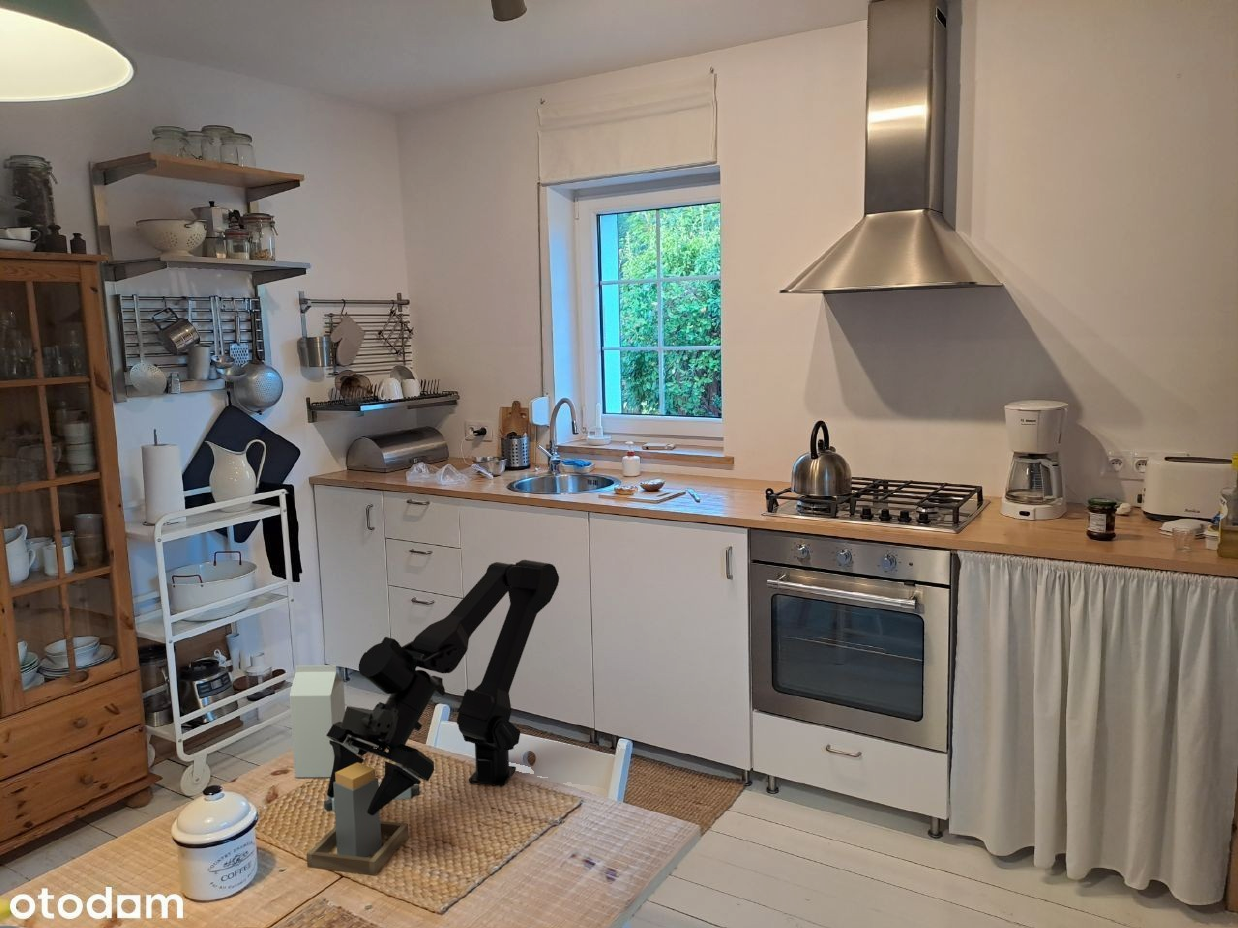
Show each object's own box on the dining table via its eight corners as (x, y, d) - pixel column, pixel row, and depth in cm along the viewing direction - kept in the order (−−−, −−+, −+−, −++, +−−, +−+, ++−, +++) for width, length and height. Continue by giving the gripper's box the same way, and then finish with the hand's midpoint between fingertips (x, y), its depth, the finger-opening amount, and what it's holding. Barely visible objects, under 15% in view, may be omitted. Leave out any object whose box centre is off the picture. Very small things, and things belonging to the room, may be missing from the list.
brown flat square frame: (345, 828, 139) (344, 816, 139) (408, 835, 137) (408, 823, 136) (307, 866, 129) (306, 853, 129) (375, 875, 126) (374, 861, 126)
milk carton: (335, 778, 156) (329, 672, 153) (294, 778, 156) (287, 673, 154) (348, 759, 163) (342, 658, 161) (309, 760, 163) (303, 658, 161)
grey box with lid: (362, 839, 136) (357, 761, 134) (381, 848, 133) (377, 768, 132) (337, 853, 132) (332, 772, 131) (356, 862, 130) (352, 780, 128)
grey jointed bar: (323, 801, 148) (323, 789, 147) (417, 784, 153) (416, 773, 153) (324, 814, 144) (324, 802, 143) (421, 796, 149) (420, 785, 148)
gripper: (333, 671, 138) (273, 766, 131) (415, 696, 127) (356, 802, 120) (376, 703, 146) (322, 795, 138) (458, 730, 135) (404, 831, 127)
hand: (349, 805), depth 131 cm, fingers open, 9 cm apart
